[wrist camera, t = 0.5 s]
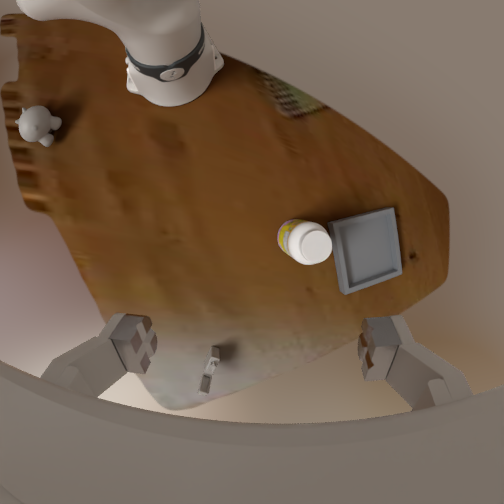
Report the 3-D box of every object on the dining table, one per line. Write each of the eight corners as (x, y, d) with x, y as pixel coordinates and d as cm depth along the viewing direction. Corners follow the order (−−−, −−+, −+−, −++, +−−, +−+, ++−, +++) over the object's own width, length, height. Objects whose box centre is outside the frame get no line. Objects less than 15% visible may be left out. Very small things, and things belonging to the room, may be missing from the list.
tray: (327, 222, 53) (332, 223, 50) (386, 207, 54) (393, 207, 51) (339, 290, 55) (345, 294, 53) (395, 271, 56) (402, 273, 54)
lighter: (211, 345, 54) (211, 366, 46) (219, 348, 54) (220, 370, 46) (199, 372, 55) (197, 395, 47) (206, 375, 55) (206, 398, 47)
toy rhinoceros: (46, 108, 44) (21, 94, 36) (68, 120, 41) (38, 103, 33) (30, 137, 44) (4, 125, 36) (49, 153, 42) (18, 139, 34)
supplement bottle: (313, 220, 52) (341, 225, 40) (309, 255, 53) (336, 271, 41) (278, 217, 51) (297, 221, 39) (274, 253, 52) (292, 268, 40)
